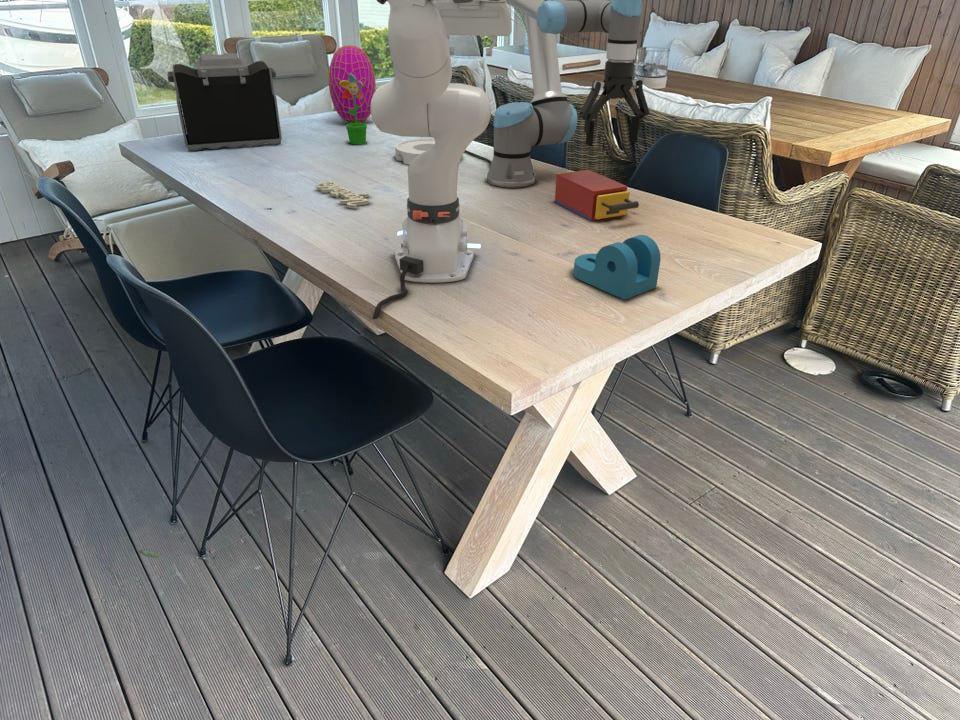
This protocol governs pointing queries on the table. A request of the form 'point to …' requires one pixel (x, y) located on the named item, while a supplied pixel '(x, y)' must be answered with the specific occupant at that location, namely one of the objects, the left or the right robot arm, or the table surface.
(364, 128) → the potted flower
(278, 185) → the table surface
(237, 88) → the electronic device
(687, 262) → the table surface
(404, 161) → the ashtray
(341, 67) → the decorative egg
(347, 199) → the decorative sign
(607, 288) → the camera mount
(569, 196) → the red case
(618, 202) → the drawer
